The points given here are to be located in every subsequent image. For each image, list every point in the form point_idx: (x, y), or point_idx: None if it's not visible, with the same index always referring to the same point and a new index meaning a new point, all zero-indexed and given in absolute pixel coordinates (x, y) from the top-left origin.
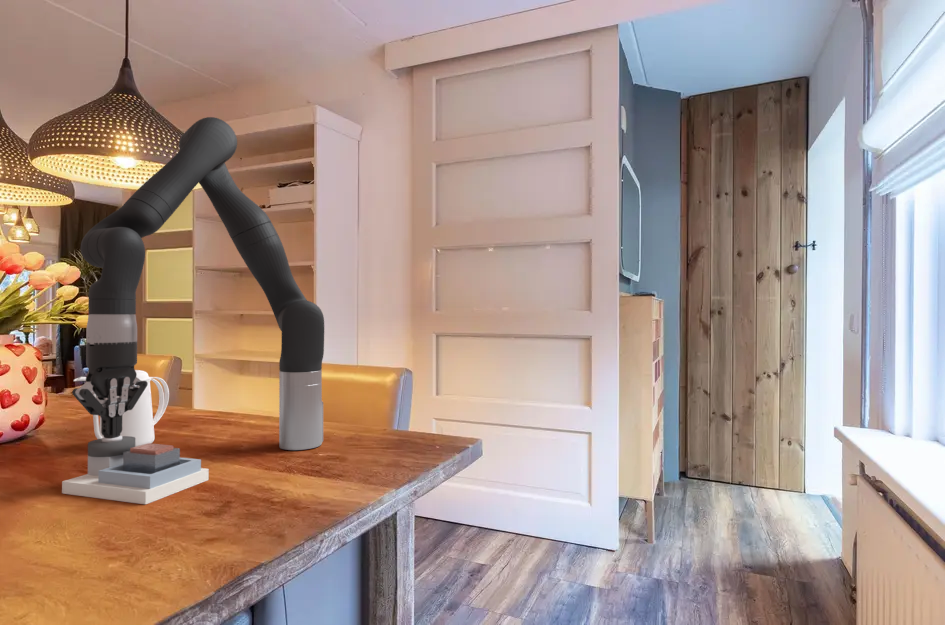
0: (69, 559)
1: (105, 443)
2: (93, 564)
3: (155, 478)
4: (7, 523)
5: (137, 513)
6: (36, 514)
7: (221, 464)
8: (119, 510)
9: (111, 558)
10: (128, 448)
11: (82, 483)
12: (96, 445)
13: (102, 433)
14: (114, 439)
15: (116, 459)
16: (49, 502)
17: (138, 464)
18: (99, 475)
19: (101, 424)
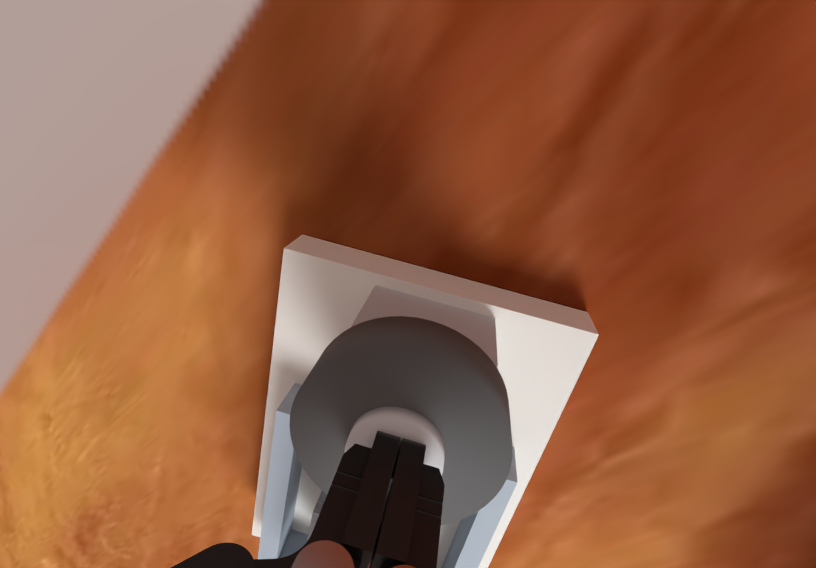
0: (29, 504)
1: (334, 448)
2: (35, 541)
3: None
4: (77, 276)
5: (217, 511)
6: (143, 300)
7: (659, 558)
8: (222, 471)
9: (58, 553)
10: None
11: (277, 338)
12: (290, 431)
13: (345, 455)
14: None
15: None
16: (224, 260)
17: None
18: (284, 402)
19: (325, 499)
